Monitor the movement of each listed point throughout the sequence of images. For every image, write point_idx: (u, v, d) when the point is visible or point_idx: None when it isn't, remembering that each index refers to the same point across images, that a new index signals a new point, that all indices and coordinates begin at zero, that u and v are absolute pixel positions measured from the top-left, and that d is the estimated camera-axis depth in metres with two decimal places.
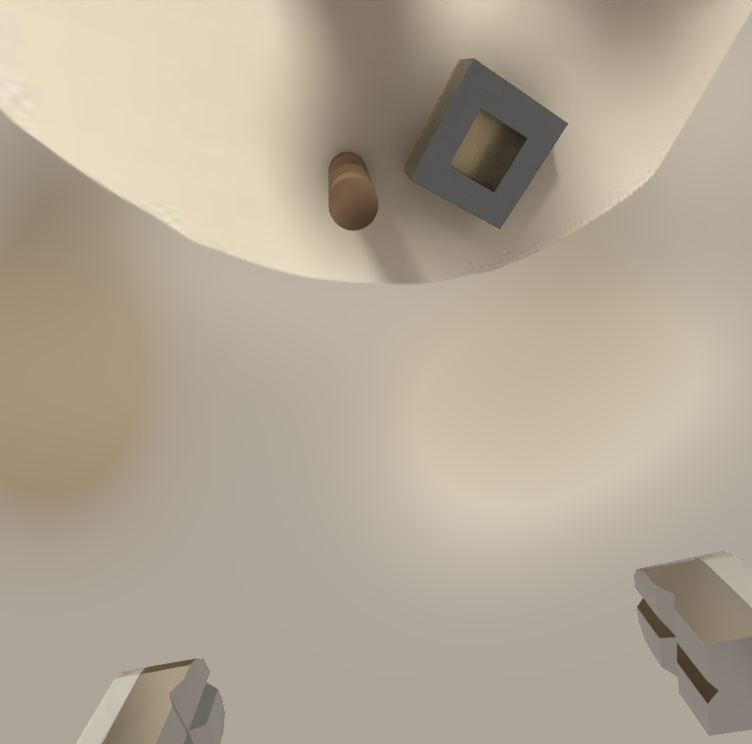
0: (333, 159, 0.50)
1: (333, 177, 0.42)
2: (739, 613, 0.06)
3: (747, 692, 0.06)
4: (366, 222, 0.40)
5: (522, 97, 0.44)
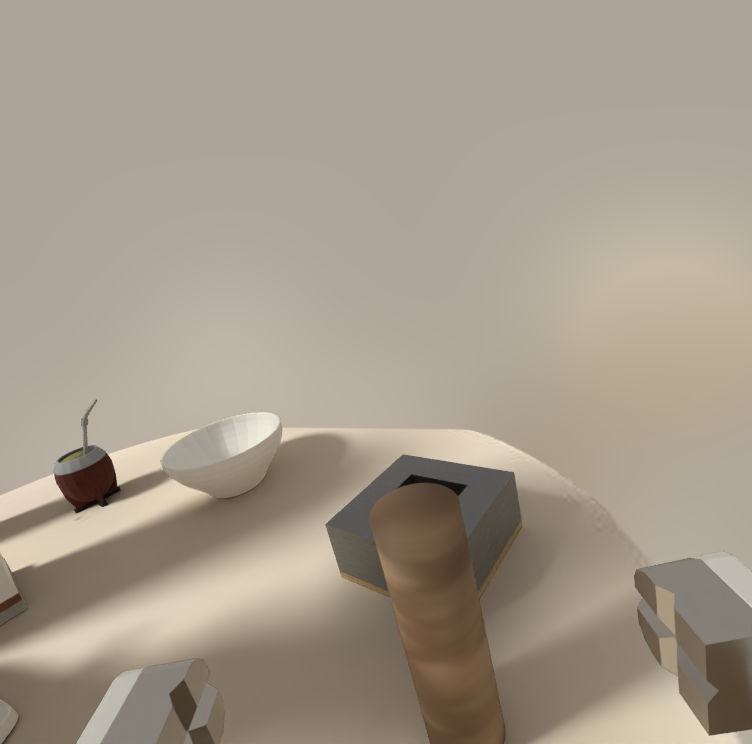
0: None
1: (401, 616, 0.21)
2: (739, 613, 0.06)
3: (747, 692, 0.06)
4: (445, 491, 0.22)
5: (372, 485, 0.42)
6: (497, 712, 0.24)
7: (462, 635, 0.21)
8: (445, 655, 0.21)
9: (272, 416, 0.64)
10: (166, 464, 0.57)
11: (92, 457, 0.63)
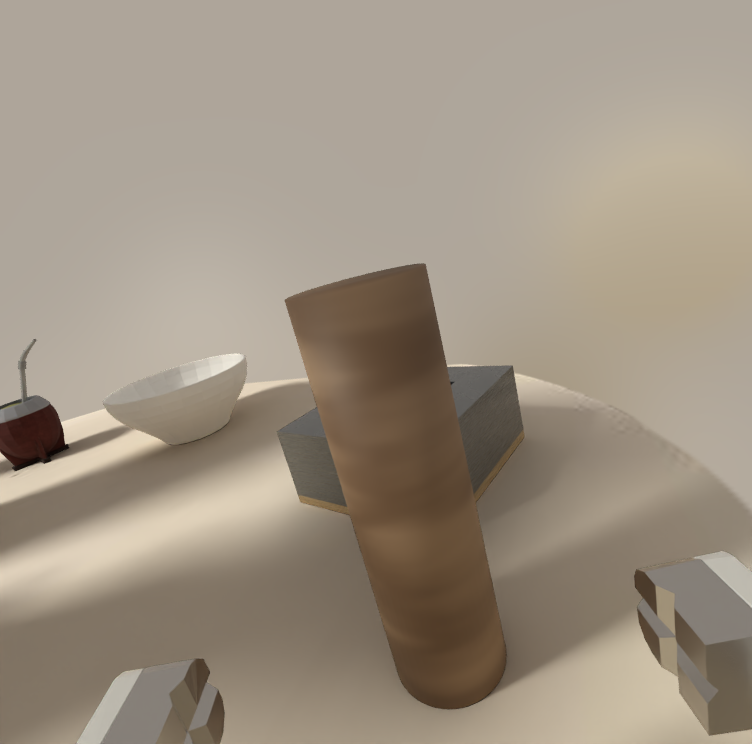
0: (406, 683, 0.16)
1: (338, 452, 0.14)
2: (739, 613, 0.06)
3: (747, 692, 0.06)
4: (406, 265, 0.14)
5: None
6: (494, 618, 0.16)
7: (434, 476, 0.13)
8: (408, 508, 0.13)
9: (237, 357, 0.56)
10: None
11: (31, 406, 0.55)
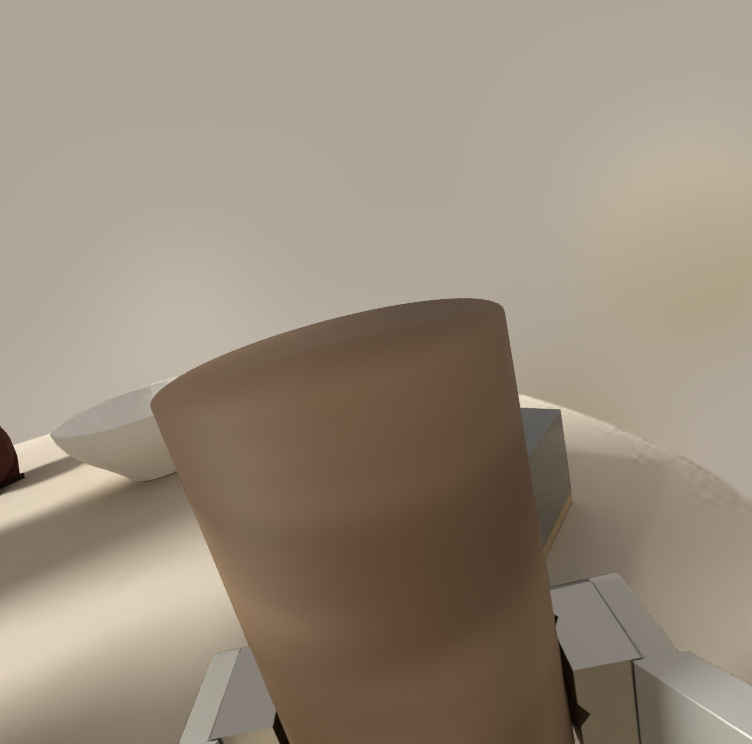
0: None
1: (290, 742, 0.06)
2: (612, 638, 0.06)
3: (620, 715, 0.06)
4: (447, 302, 0.06)
5: None
6: None
7: None
8: None
9: None
10: (63, 435, 0.42)
11: None
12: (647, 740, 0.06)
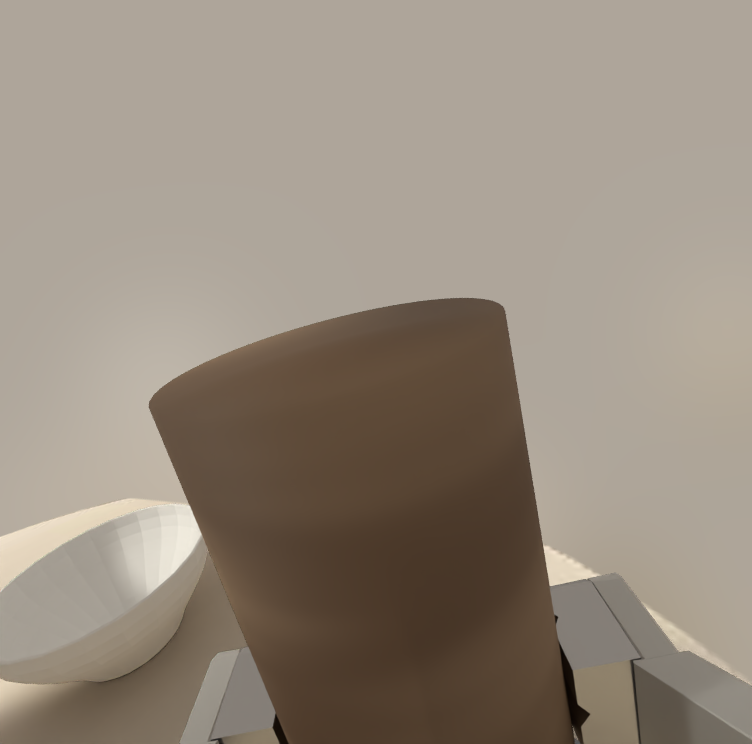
0: None
1: None
2: (611, 638, 0.06)
3: (619, 715, 0.06)
4: (447, 302, 0.06)
5: None
6: None
7: None
8: None
9: None
10: None
11: None
12: (647, 740, 0.06)
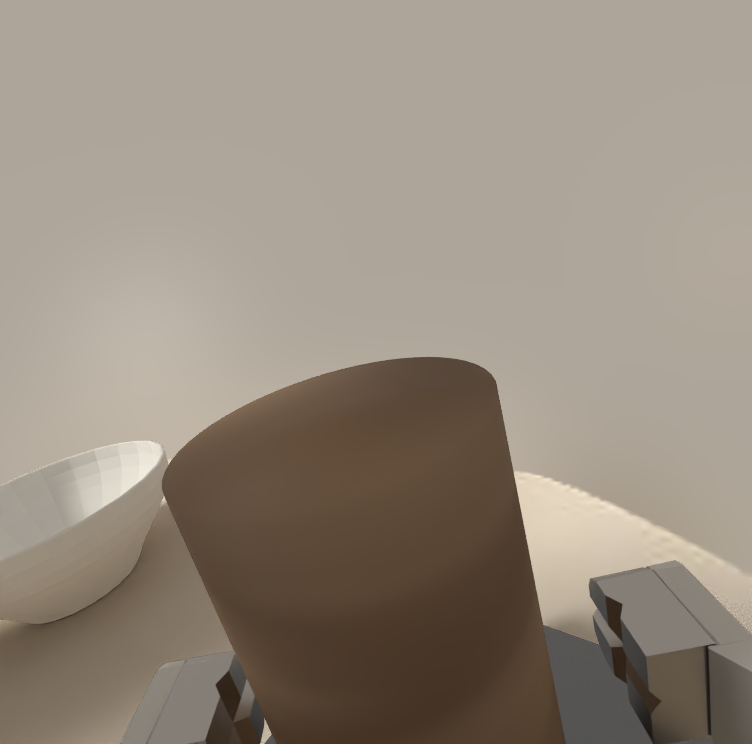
0: None
1: None
2: (682, 624, 0.06)
3: (690, 702, 0.06)
4: (443, 365, 0.07)
5: None
6: None
7: None
8: None
9: (157, 449, 0.35)
10: None
11: None
12: (719, 727, 0.06)
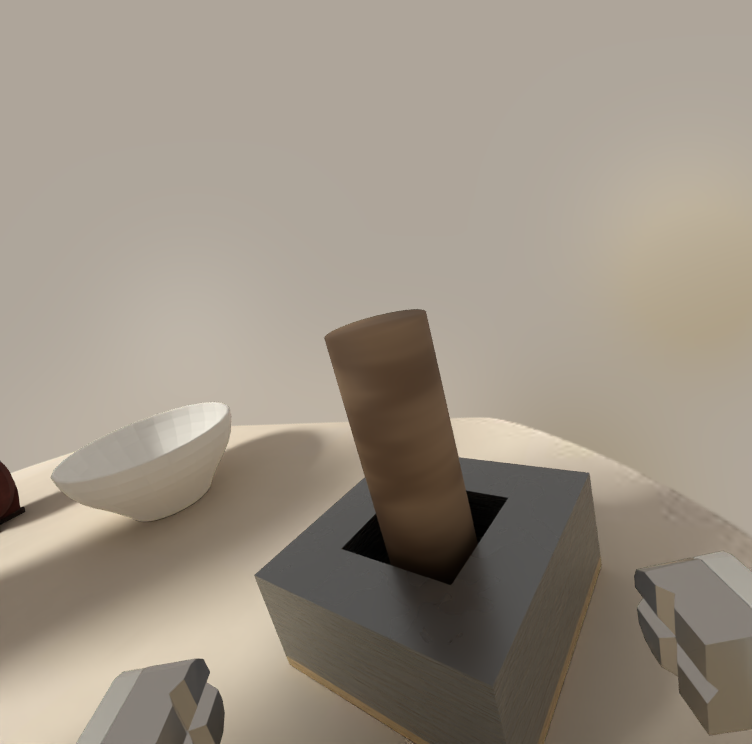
0: None
1: (363, 448, 0.19)
2: (739, 613, 0.06)
3: (747, 692, 0.06)
4: (412, 310, 0.19)
5: (344, 500, 0.25)
6: None
7: (433, 465, 0.18)
8: (415, 488, 0.18)
9: (220, 407, 0.47)
10: (64, 475, 0.41)
11: None
12: None
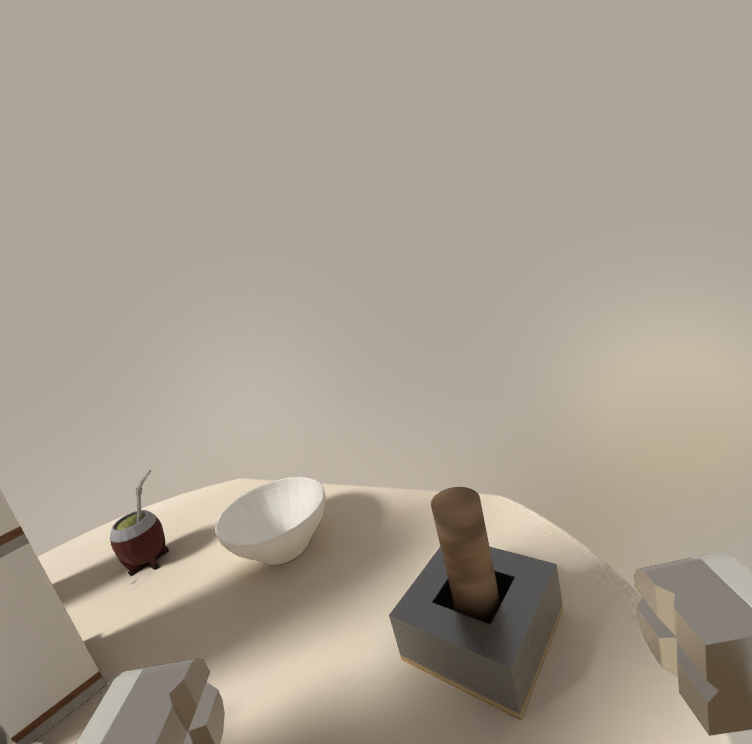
0: None
1: (448, 558, 0.40)
2: (739, 613, 0.06)
3: (747, 692, 0.06)
4: (471, 491, 0.40)
5: (425, 571, 0.46)
6: None
7: (482, 568, 0.39)
8: (473, 578, 0.39)
9: (313, 482, 0.68)
10: (219, 534, 0.62)
11: (146, 523, 0.67)
12: None
